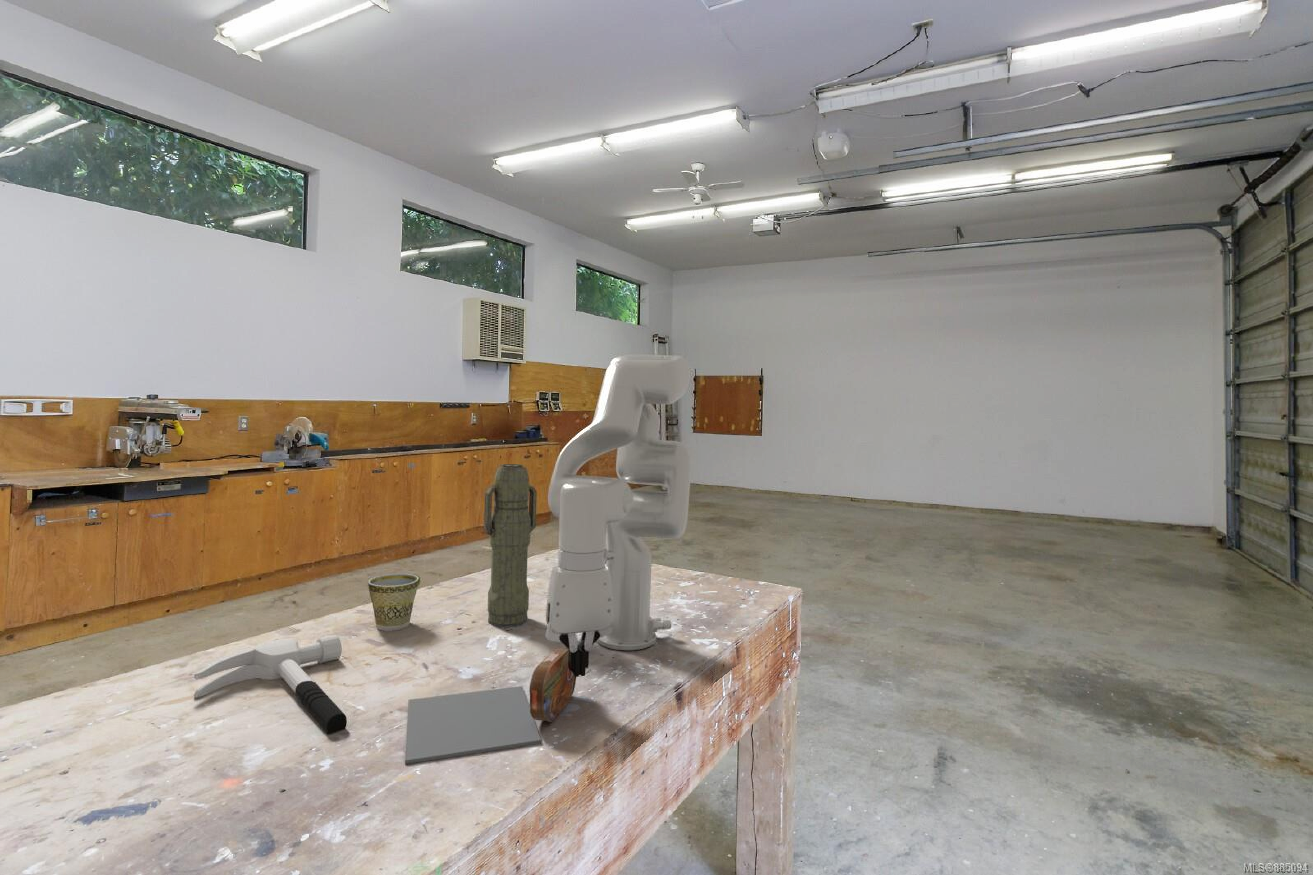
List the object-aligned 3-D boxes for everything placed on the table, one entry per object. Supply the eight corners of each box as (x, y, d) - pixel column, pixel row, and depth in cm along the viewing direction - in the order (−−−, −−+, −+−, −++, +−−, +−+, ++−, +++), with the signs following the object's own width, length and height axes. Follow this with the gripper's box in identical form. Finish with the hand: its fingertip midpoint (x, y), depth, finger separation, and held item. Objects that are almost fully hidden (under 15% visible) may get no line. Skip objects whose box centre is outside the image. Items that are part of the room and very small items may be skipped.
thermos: (541, 619, 140) (546, 465, 138) (496, 632, 131) (500, 467, 130) (519, 610, 146) (523, 462, 144) (474, 621, 137) (478, 464, 136)
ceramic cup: (394, 636, 126) (394, 588, 126) (356, 629, 130) (357, 582, 129) (436, 617, 139) (437, 573, 138) (401, 611, 142) (402, 568, 142)
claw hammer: (401, 687, 96) (332, 627, 117) (233, 738, 80) (187, 658, 101) (400, 721, 96) (332, 656, 117) (232, 778, 80) (187, 691, 101)
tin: (544, 731, 90) (546, 674, 90) (524, 729, 91) (526, 671, 91) (577, 691, 105) (579, 642, 105) (560, 689, 106) (562, 640, 106)
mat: (522, 688, 105) (522, 686, 105) (540, 743, 88) (540, 739, 88) (408, 702, 99) (408, 699, 99) (405, 764, 82) (405, 760, 82)
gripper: (619, 552, 104) (615, 659, 105) (530, 556, 99) (527, 669, 100) (633, 562, 97) (629, 677, 98) (539, 568, 92) (535, 689, 93)
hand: (577, 672), depth 99 cm, fingers closed
